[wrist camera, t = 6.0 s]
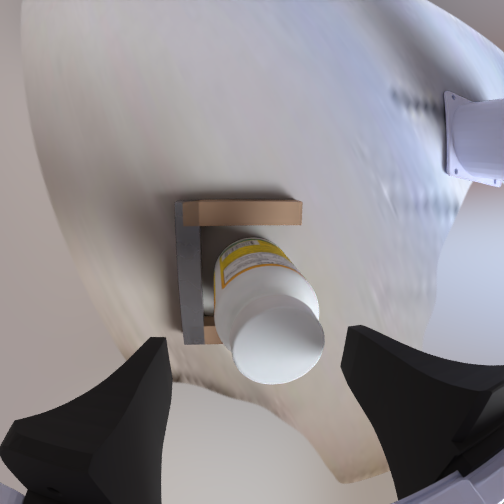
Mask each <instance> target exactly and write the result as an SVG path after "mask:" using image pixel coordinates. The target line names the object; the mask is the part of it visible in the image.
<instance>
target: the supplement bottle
mask: <svg viewBox="0 0 504 504" xmlns="http://www.w3.org/2000/svg"><path fill="white" fill-rule="evenodd" d="M318 319H319V305H318V300H317V297H316V294H315V292H314V290H313V288H312V287H311V285H310V284H309V282H308V281H307V280H306V279H305V277H304V276H303V275H302V274H301V273H300V272H299V270H298V269H297V268H296V267H295V266H294V265H293V263H292V262H291V261H290V260H289V259H288V257H287V256H286V255H285V254H284V253H283V251H282V250H281V249H280V248H279V247H278V246H277V245H275V244H274V243H272V242H270V241H268V240H265V239H262V238H244V239H241V240H238V241H236V242H234V243H232V244H230V245H229V246H228V247H226V248H225V249H224V250H223V252H222V253H221V254H220V256H219V257H218V259H217V261H216V264H215V268H214V321H215V327H216V331H217V333H218V336H219V338H220V340H221V341H222V343H223V344H224V345H225V346H226V348H227V349H228V350H230V351H231V352H232V357H233V361H234V363H235V365H236V367H237V368H238V370H239V371H240V372H241V373H242V374H243V375H244V376H246V377H247V378H249V379H251V380H253V381H255V382H258V383H263V384H282V383H287V382H290V381H293V380H295V379H297V378H299V377H301V376H303V375H304V374H306V373H307V372H308V371H309V370H310V369H311V368H313V367H314V365H315V364H316V363H317V361H318V360H319V358H320V356H321V354H322V352H323V348H324V332H323V328H322V326H321V324H320V322H319V321H318Z"/></svg>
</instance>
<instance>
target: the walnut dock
mask: <svg viewBox="0 0 504 504" xmlns="http://www.w3.org/2000/svg"><path fill="white" fill-rule="evenodd" d="M301 224H302V202H301V201H298V200H272V199H222V200H177V201H176V202H175V230H176V252H177V268H178V283H179V296H180V307H181V318H182V328H183V337H184V345H191V344H223V343H222V341H221V340H220V338H219V336H218V333H217V331H216V327H215V321H214V316H208V317H204V307H203V288H202V265H201V233H200V226H233V225H301Z"/></svg>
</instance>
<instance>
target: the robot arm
mask: <svg viewBox="0 0 504 504" xmlns="http://www.w3.org/2000/svg"><path fill="white" fill-rule="evenodd" d="M452 98H453V99H452ZM444 99H445V112H446V131H447V174H448V175H449V176H453V177H457V178H462V179H467V180H471V181H476V182H480V183H484V184H488V185H492V186H496V187H500V186H501V180H503V181H504V99H497V100H489V101H481V102H472V101H470V100H468V99H466V98H463V97H461V96H459V95H457V94H455V93H452V92H450V91H446V92H445V93H444ZM454 170H455V172H454ZM341 369H342V372H343V374H344V377H345V379H346V381H347V384H348V386H349V387H350V389H351V391H352V393H353V394H354V396H355V398H356V399H357V401H358V402H359V404H360V406H361V407H362V409H363V411H364V412H365V414H366V415H367V417H368V419H369V420H370V422H371V424H372V426H373V428H374V430H375V432H376V434H377V436H378V439H379V441H380V443H381V446H382V448H383V451H384V454H385V456H386V459H387V462H388V465H389V468H390V471H391V474H392V477H393V481H394V484H395V489H396V493H397V497H398V501H396V502H394V503H391V504H502V502H504V365H501V366H499V365H496V366H487V365H476V364H468V363H462V362H457V361H451V360H447V359H443V358H440V357H436V356H433V355H430V354H427V353H424V352H422V351H419V350H417V349H414V348H412V347H409V346H407V345H405V344H402V343H400V342H398V341H396V340H394V339H392V338H390V337H388V336H385V335H383V334H381V333H379V332H377V331H375V330H373V329H370V328H368V327H366V326H363V325H357V326H349V327H348V330H347V336H346V341H345V346H344V352H343V356H342V361H341ZM172 379H173V378H172V373H171V367H170V361H169V355H168V348H167V341H166V337H150V338H149V339H148V340H147V341H146V342H145V343H144V344H143V345H142V346H141V347H140V348H139V349H138V350H137V351H136V352H135V353H134V354H133V355H132V356H131V357H130V358H129V359H128V360H127V361H126V362H125V363H124V364H123V365H122V366H121V367H119V368H118V369H117V370H116V371H115V372H114V373H113V374H111V375H110V376H109V377H108V378H107V379H105V380H104V381H103V382H101V383H100V384H99V385H97V386H96V387H94V388H93V389H91V390H90V391H88V392H86V393H85V394H83V395H81V396H79V397H77V398H75V399H74V400H72V401H70V402H68V403H66V404H64V405H62V406H59V407H57V408H55V409H52V410H49V411H47V412H44V413H41V414H38V415H34V416H31V417H27V418H23V419H19V420H15V421H14V423H13V424H12V426H11V428H10V429H9V431H8V433H7V435H6V437H5V438H4V440H3V442H2V444H1V446H0V456H1V458H2V461H3V462H4V463H5V465H6V466H7V467H8V469H9V470H10V471H11V472H12V473H13V474H14V475H15V477H16V478H18V480H19V481H20V482H21V483H22V484H23V485H24V486H25V487H26V488H27V489H28V490H27V493H26V496H24V495H23V494H21V493H20V492H18V491H16V490H14V489H12V488H10V487H8V486H6V485H4V484H2V483H0V504H161V463H162V448H163V442H164V436H165V431H166V425H167V419H168V415H169V409H170V404H171V396H172Z"/></svg>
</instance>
